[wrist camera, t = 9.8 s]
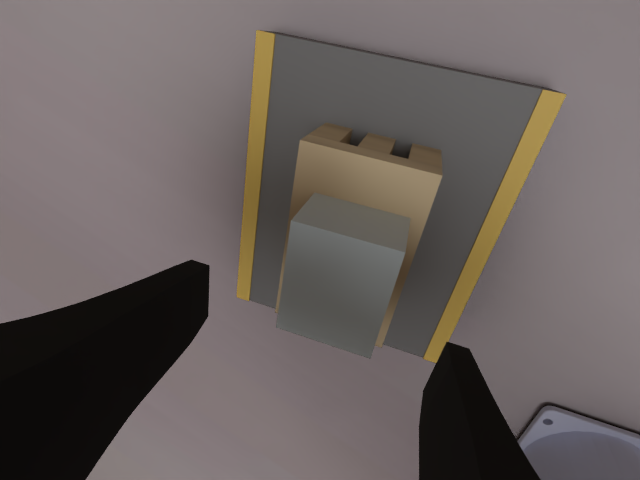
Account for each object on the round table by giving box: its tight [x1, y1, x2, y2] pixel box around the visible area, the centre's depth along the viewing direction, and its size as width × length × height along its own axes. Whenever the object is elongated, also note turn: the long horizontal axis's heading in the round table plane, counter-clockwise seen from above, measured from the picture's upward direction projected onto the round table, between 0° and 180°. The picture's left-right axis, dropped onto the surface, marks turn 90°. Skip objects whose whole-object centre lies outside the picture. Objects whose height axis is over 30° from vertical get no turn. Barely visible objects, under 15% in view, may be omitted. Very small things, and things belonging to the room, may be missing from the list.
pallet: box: [275, 123, 443, 348], centre depth 16 cm, size 8×5×4 cm, turn 170°
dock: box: [237, 30, 567, 363], centre depth 18 cm, size 14×12×2 cm
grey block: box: [276, 193, 411, 358], centre depth 13 cm, size 4×4×3 cm
